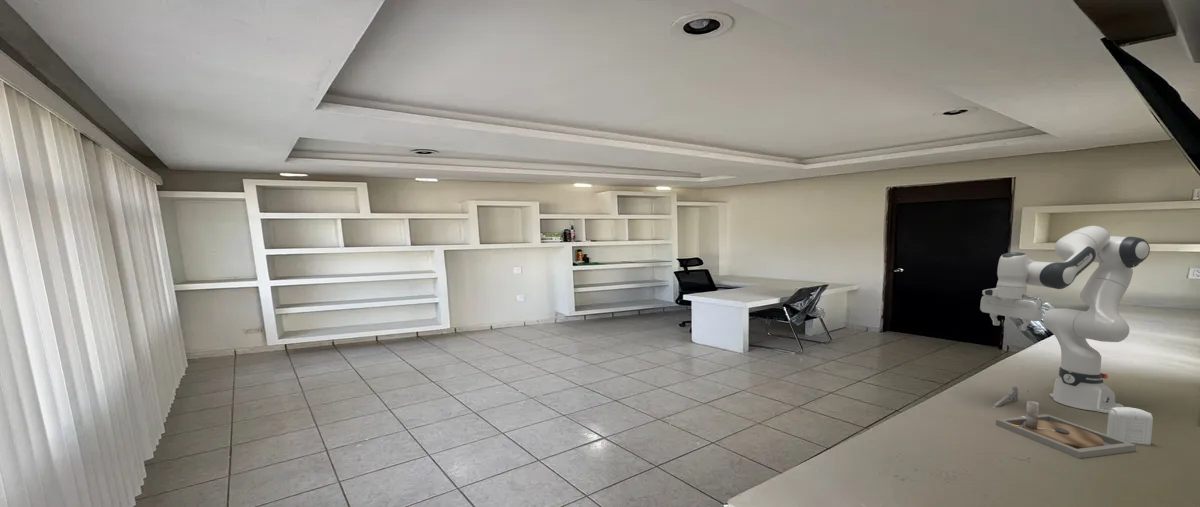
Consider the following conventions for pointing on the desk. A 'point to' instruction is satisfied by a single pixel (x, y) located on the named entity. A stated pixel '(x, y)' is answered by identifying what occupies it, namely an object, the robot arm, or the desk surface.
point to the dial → (1059, 430)
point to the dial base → (1110, 444)
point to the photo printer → (1130, 425)
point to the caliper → (1008, 397)
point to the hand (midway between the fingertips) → (1008, 327)
